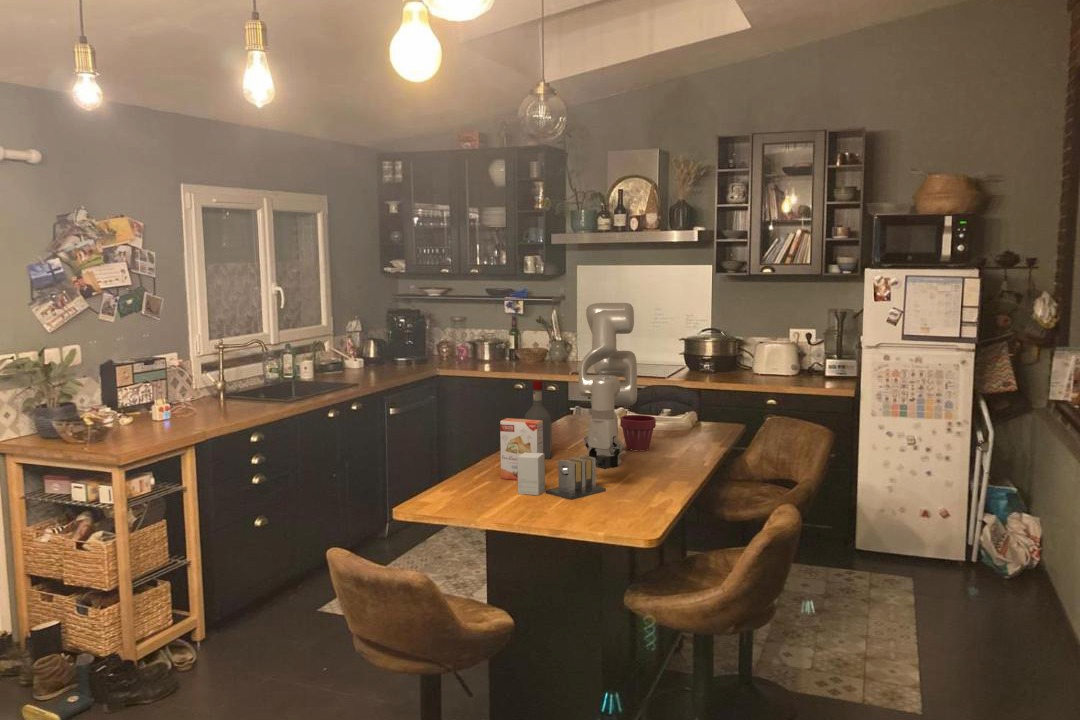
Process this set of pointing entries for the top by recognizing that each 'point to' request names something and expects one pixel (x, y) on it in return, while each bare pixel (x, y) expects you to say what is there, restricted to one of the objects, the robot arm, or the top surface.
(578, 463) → the spacer
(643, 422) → the plant pot
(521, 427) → the cracker box
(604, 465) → the shaft
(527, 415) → the liquor
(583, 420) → the top surface
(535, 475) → the supplement box
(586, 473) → the spacer
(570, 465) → the frame
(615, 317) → the robot arm
